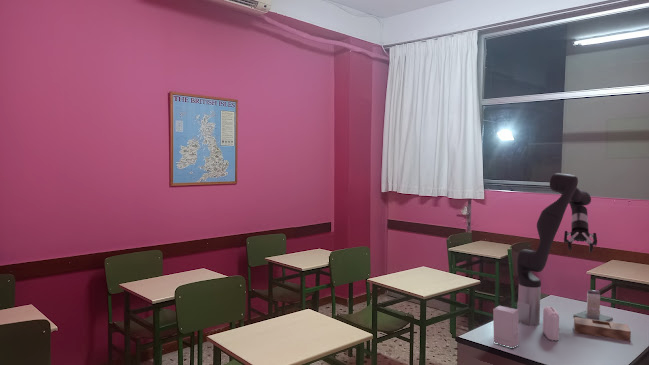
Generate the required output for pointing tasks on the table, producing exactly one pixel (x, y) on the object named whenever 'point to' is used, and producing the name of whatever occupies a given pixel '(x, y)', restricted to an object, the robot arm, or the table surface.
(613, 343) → the table surface
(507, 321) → the skincare box
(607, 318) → the rubber mat
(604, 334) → the body
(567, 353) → the table surface
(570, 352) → the table surface
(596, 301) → the lever cap
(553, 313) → the photo printer
